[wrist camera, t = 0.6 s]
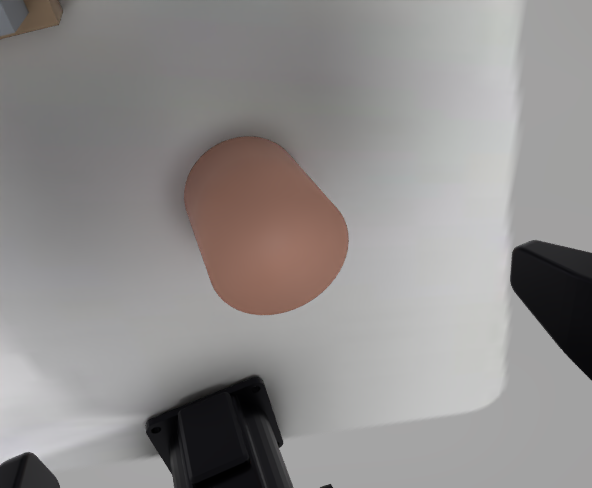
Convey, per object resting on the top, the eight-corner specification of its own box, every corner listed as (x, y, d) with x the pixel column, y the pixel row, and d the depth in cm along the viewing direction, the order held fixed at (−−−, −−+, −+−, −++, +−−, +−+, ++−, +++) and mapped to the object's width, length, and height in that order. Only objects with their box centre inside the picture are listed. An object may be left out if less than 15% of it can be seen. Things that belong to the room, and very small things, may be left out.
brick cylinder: (307, 222, 22) (354, 285, 18) (203, 259, 21) (229, 333, 17) (288, 120, 19) (340, 170, 15) (167, 158, 18) (188, 220, 14)
